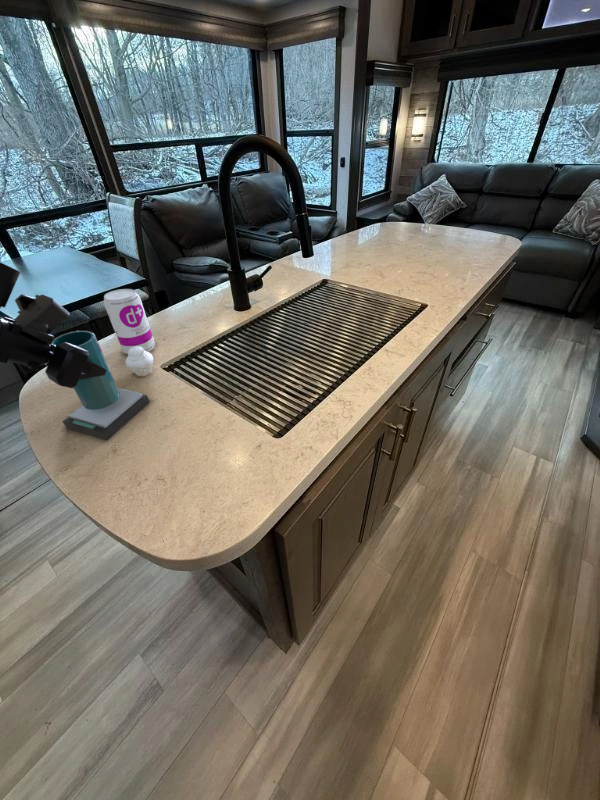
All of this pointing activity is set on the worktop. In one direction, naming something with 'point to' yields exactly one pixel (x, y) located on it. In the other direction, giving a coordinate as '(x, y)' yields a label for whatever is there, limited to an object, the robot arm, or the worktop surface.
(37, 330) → the robot arm
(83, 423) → the scale
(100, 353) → the cup
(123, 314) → the supplement can
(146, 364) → the white frosted cupcake
